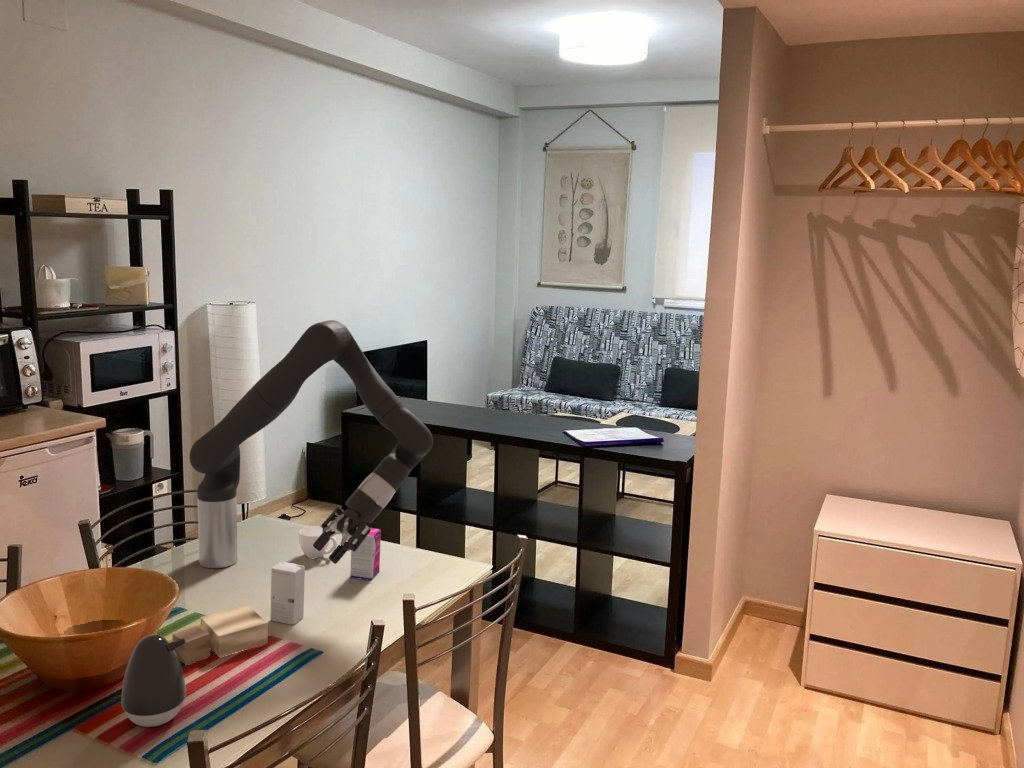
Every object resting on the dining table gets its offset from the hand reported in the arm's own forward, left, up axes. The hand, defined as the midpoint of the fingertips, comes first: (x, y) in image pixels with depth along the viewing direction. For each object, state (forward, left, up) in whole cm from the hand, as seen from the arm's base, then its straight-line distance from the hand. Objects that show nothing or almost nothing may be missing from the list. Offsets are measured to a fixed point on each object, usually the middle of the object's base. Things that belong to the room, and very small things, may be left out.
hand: (323, 554), depth 185 cm
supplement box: (-13, +17, -13) cm, 25 cm away
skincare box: (0, -8, -13) cm, 16 cm away
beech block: (+4, -21, -13) cm, 25 cm away
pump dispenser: (+24, -41, -13) cm, 50 cm away
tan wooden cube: (+6, -30, -13) cm, 34 cm away
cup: (-30, +12, -13) cm, 35 cm away
